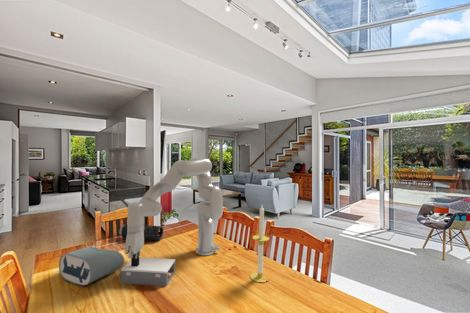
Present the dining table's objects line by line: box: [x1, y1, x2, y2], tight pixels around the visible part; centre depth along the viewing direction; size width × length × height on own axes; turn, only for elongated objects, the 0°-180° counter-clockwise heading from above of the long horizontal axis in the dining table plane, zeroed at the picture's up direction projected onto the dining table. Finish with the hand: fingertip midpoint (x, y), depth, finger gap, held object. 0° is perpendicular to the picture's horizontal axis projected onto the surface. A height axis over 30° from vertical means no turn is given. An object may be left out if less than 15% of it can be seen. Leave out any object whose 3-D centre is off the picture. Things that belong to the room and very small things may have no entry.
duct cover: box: [120, 256, 176, 273], centre depth 112 cm, size 22×12×1 cm, turn 86°
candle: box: [249, 204, 270, 283], centre depth 114 cm, size 10×10×38 cm
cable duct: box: [120, 261, 176, 287], centre depth 112 cm, size 22×13×6 cm, turn 86°
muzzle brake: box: [118, 223, 164, 242], centre depth 159 cm, size 10×28×10 cm, turn 85°
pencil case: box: [58, 244, 125, 287], centre depth 114 cm, size 22×19×13 cm
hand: (135, 265), depth 110 cm, fingers closed
